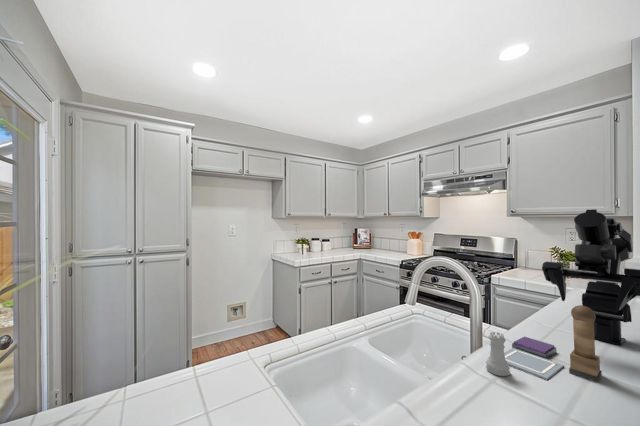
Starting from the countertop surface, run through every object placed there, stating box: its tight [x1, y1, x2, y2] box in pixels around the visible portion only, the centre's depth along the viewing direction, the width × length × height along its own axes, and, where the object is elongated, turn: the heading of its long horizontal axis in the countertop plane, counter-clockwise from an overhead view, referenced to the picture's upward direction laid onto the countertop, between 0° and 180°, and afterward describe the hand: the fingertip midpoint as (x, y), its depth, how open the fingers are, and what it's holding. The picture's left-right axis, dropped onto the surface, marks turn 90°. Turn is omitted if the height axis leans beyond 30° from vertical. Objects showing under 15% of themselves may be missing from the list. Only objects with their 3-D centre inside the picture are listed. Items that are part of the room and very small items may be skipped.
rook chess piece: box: [485, 331, 511, 377], centre depth 59 cm, size 4×4×8 cm
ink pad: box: [511, 336, 558, 360], centre depth 69 cm, size 7×7×2 cm
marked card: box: [504, 347, 565, 381], centre depth 62 cm, size 10×10×1 cm
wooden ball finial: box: [568, 304, 603, 383], centre depth 58 cm, size 4×4×14 cm
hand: (588, 304), depth 63 cm, fingers open, 9 cm apart
